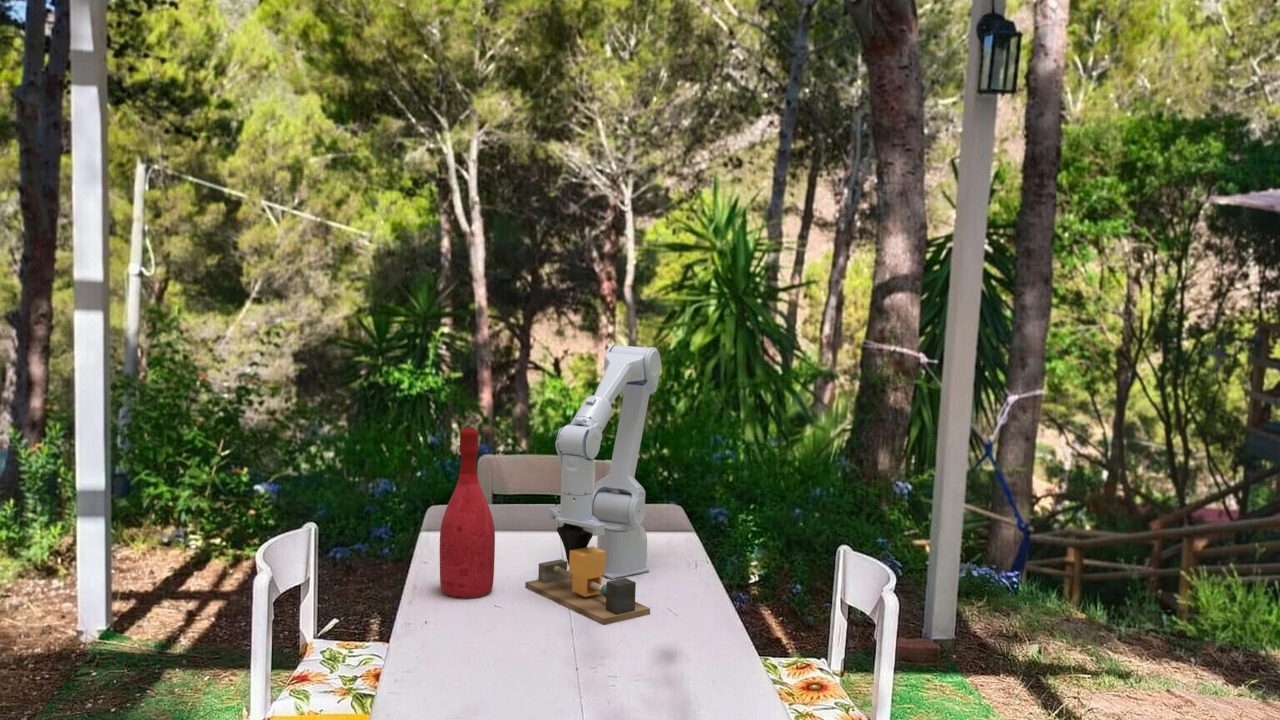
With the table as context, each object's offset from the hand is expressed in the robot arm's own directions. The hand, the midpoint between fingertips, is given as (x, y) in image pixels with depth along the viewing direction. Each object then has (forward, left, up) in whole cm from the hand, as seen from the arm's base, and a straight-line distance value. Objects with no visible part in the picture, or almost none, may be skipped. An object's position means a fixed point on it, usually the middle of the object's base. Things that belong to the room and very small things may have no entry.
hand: (575, 565), depth 202 cm
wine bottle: (+15, -13, -6) cm, 20 cm away
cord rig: (0, +3, -5) cm, 6 cm away
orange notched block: (0, +4, -4) cm, 5 cm away
